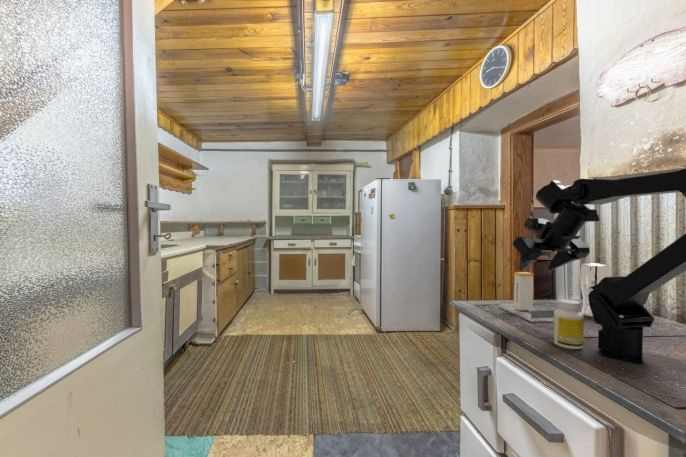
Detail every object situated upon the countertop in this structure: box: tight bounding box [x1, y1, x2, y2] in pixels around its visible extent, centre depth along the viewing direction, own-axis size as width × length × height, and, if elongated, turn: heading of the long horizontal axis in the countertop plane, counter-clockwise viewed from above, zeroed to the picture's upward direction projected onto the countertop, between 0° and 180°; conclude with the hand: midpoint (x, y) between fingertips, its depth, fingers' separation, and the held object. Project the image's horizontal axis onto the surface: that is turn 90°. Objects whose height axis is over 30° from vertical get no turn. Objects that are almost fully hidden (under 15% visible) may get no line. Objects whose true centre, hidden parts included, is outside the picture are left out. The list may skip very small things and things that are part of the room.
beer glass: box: [579, 262, 611, 318], centre depth 96 cm, size 7×7×15 cm
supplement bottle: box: [553, 298, 585, 350], centre depth 72 cm, size 5×5×10 cm
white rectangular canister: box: [513, 271, 534, 310], centre depth 97 cm, size 3×4×11 cm
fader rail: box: [498, 303, 555, 323], centre depth 97 cm, size 16×7×3 cm, turn 6°
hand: (535, 269), depth 89 cm, fingers open, 9 cm apart
